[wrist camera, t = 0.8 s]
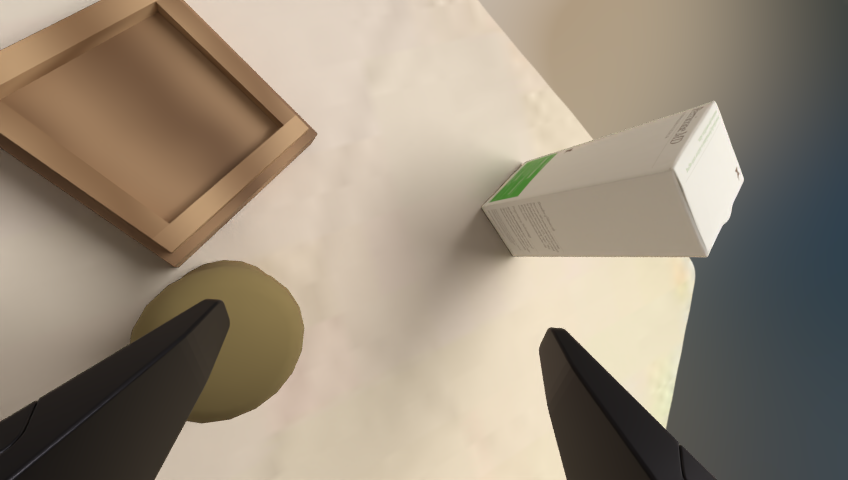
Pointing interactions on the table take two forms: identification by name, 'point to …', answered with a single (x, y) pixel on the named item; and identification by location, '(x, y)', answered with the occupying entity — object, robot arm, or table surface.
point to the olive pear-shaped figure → (236, 334)
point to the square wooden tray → (146, 120)
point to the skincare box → (624, 193)
